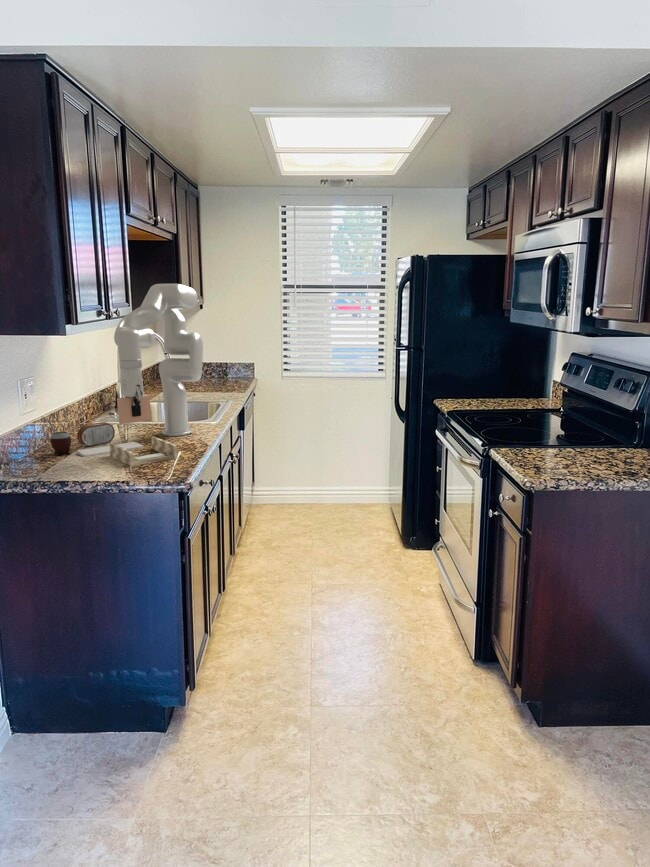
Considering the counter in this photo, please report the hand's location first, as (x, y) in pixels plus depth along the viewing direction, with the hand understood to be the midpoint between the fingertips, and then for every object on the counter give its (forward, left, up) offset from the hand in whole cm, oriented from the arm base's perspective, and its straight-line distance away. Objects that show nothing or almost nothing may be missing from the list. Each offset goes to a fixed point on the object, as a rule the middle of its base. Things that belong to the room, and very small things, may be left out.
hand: (134, 415), depth 223 cm
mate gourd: (-20, -21, -15) cm, 33 cm away
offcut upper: (+11, 0, -14) cm, 18 cm away
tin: (-27, -5, -15) cm, 31 cm away
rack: (+6, 0, -15) cm, 16 cm away
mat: (-13, -5, -15) cm, 20 cm away
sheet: (0, 0, -2) cm, 2 cm away
